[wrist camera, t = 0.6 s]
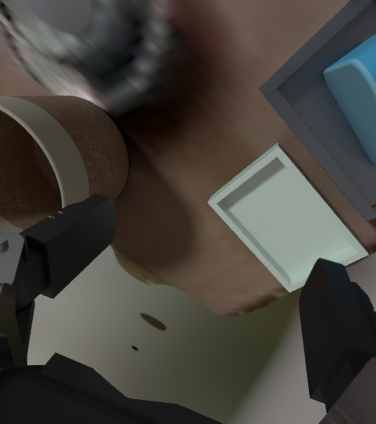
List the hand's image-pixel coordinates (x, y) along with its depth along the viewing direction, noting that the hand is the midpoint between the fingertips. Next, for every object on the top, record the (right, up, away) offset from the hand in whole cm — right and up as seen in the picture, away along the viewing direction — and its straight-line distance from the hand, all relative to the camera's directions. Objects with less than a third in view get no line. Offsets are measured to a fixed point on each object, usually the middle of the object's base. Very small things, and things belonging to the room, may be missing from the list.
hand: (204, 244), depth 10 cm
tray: (+12, 0, +23) cm, 26 cm away
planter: (-16, +10, +28) cm, 34 cm away
